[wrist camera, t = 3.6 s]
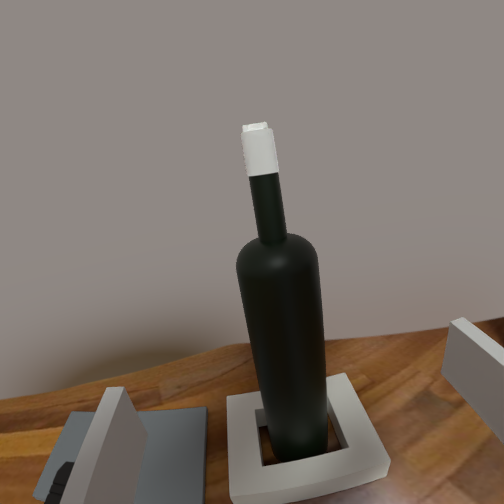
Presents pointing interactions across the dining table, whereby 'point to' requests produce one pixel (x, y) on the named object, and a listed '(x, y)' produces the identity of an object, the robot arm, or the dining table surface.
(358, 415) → the frame
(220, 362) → the dining table surface
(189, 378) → the dining table surface
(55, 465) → the coaster mat
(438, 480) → the dining table surface
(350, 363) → the dining table surface
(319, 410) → the wine bottle
